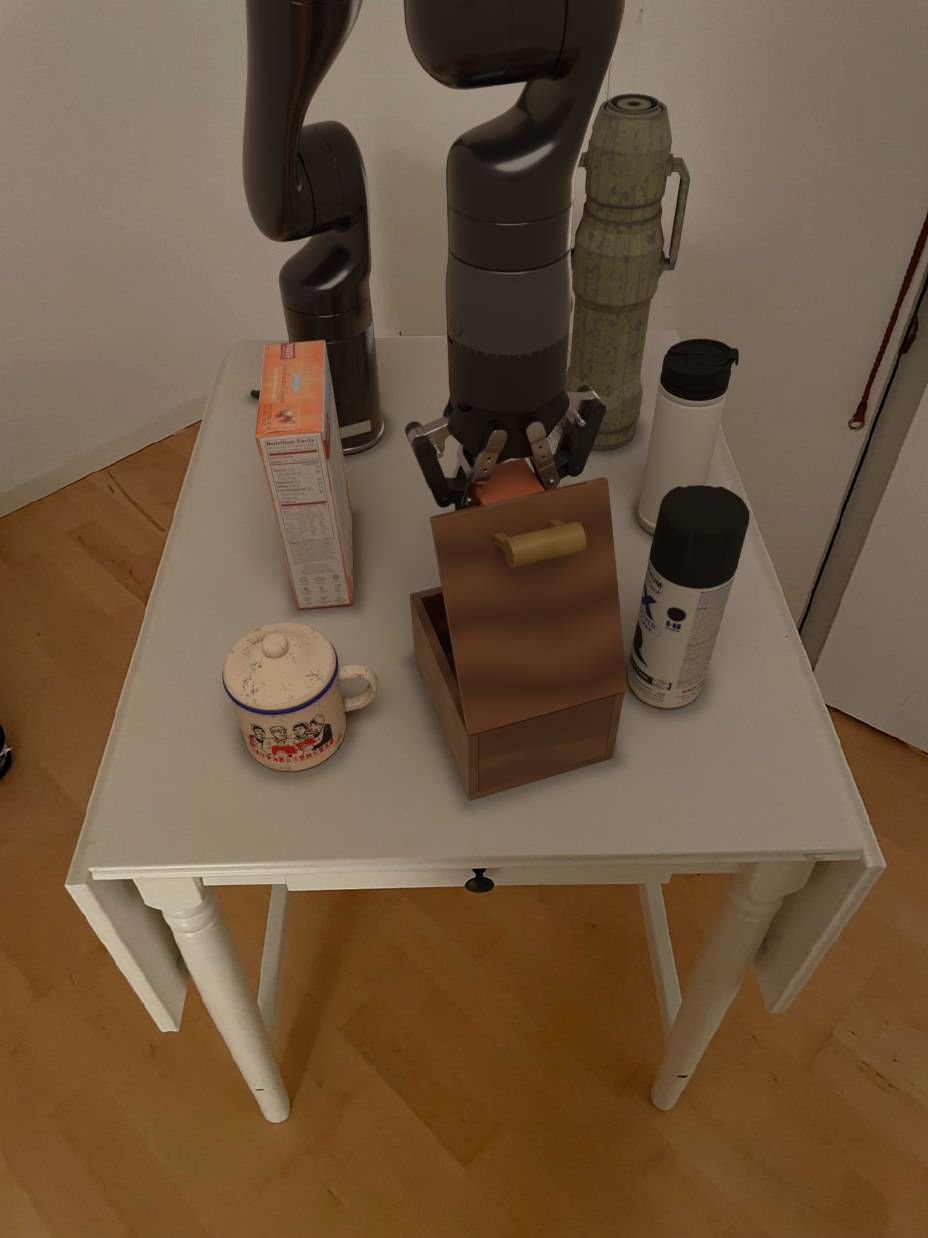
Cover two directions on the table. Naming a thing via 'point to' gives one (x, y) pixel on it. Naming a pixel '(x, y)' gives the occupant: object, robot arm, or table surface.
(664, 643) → the spray can
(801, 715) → the table surface
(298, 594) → the cracker box
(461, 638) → the lid
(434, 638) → the chest
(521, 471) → the block
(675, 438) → the travel mug
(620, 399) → the thermos
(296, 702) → the teacup with lid
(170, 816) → the table surface
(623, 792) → the table surface
